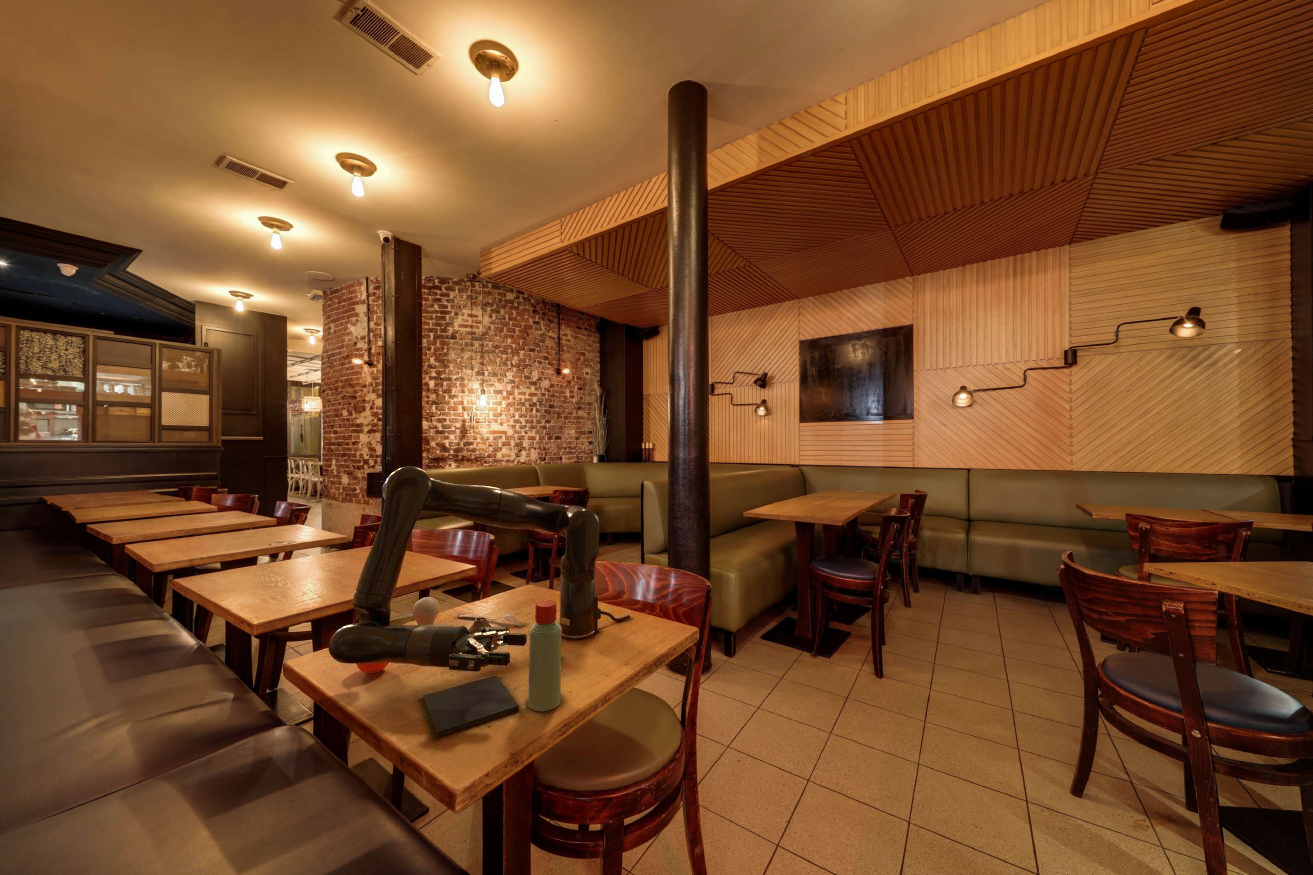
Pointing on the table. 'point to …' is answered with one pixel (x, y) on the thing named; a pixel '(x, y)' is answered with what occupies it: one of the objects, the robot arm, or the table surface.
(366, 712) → the table surface
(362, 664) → the clementine
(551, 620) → the cap
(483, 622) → the vase
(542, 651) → the bottle
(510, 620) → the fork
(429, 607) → the lightbulb
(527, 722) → the table surface
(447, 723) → the coaster
